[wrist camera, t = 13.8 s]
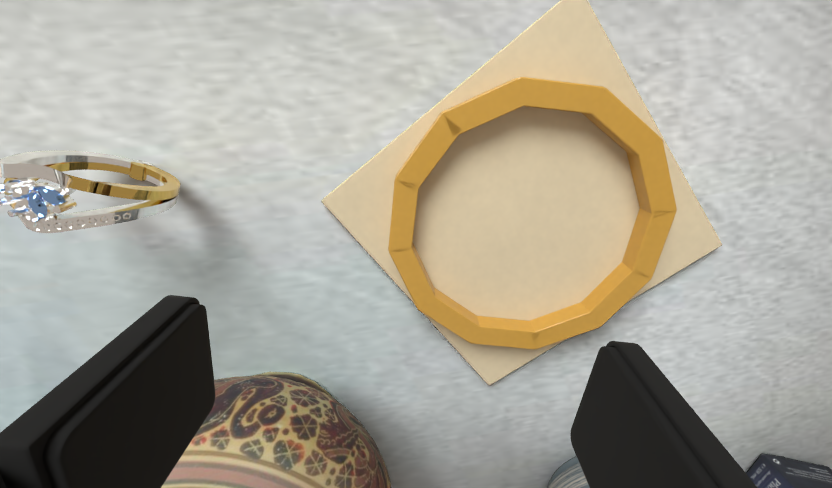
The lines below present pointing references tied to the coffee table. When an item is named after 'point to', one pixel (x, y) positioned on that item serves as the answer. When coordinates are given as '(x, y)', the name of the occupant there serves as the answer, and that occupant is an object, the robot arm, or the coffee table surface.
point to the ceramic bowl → (278, 439)
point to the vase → (569, 476)
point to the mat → (524, 193)
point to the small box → (788, 473)
